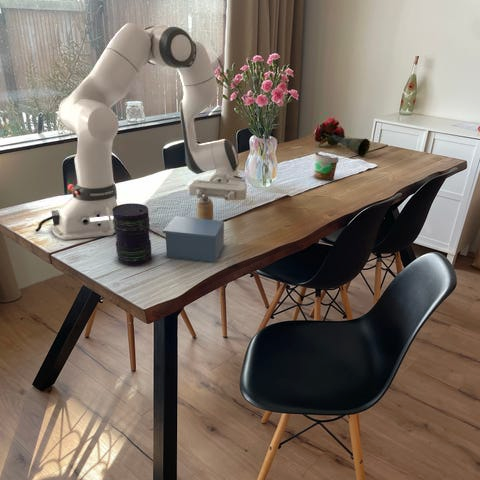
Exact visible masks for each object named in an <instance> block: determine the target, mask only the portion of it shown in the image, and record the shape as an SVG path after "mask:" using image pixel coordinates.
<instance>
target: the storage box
mask: <svg viewBox="0 0 480 480" xmlns="http://www.w3.org/2000/svg"><path fill="white" fill-rule="evenodd" d="M224 235H225V223H224V224H223V226H222V228H221V229H220V231H219V233H218V235H217V237H216V238H205V237H195V236H185V235H175V234H165V247H166V258H172V259H182V260H190V261H191V260H192V261H200V262H210V263H216V262H217V260H218V258H219V256H220V254H221V252H222V250H223V248H224V246H225V245H224V243H225V236H224Z"/></svg>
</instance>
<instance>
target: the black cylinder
mask: <svg viewBox="0 0 480 480" xmlns="http://www.w3.org/2000/svg"><path fill="white" fill-rule="evenodd" d="M112 211H113V223H114V230H115V239H116V241H115V246H116V247H115V249H116V251H115V252H116V255H117V262H118V263H119V264H121V265H122V266H126V267H139V266H144V265H147V264H149V263H150V262H151V261H152V259H153V257H152V241H151V239H150V225H151V224H150V216H149V215H150V214H149V208H148V206H147V205H144V204H141V203H133V202H132V203H131V202H130V203H122V204H117V206H116V207H114V208H113V209H112Z"/></svg>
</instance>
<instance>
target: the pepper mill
mask: <svg viewBox="0 0 480 480" xmlns="http://www.w3.org/2000/svg"><path fill="white" fill-rule="evenodd" d="M196 216H197V217H196V218H199V219H209V220H214V202H213V200H212V199H211V198H210V197H208V195H206V194H204V195H202V198H198V201H197V202H196Z"/></svg>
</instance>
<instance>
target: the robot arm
mask: <svg viewBox="0 0 480 480" xmlns="http://www.w3.org/2000/svg"><path fill="white" fill-rule="evenodd" d="M147 63H148V64H150V65H153V66H158V67H161V68H169V69H171V68H173V69H176V70H177V72H178V74H179V76H180V81H181V84H182V87H183V97H182V99H181V101H180V102H179V117H180V118H179V119H180V126H181V132H182V138H183V144H184V154H185V155H184V156H185V163H186V167H187V169H188V170H189V171H190V172H192V173H193V174H196V175H200V174H203V173H207V172H211V171H215V172H214V173H213V174H212V176H211V177H210V179H208V180H203V179H195V180H192V181H191V182H189V184H188V185H187V194H188V195H189V196H194V197H196V198H197V199H201V198H202V195H204V194H206V195H208V198H217V199H224V201H226V202H227V201H230V200H240V201H243V200H246V198H247V183H246V182H247V181H246V178H245V177H243V176H240V171H239V168H238V167H239V164H240V162H239V155H238V151H237V147H236V146H235V144H234V143H233V142H231V141H230V140H229V139H227V138H224V139H219V140H218V139H217V140H213V141H210V142H205V143H198V142H197V141H198V140H197V134H196V129H195V127H196V126H195V118H196V117H198V115H200V114H201V113H202V112H204V111H205V110H207V109H208V108H209V107H210V106H211V105H212V104H213V103H214V102H215V100H216V98H217V96H218V91H219V88H218V81H217V78H216V77H217V76H216V73H215V70H214V66H213V64H212V61H211V58H210V56H209V53H208V52H207V49H206V48H205V45H204V44H203V43H201V42H200V41H198V40H193V39H192V36H190V34H189V33H188V32H187V31H185V29H183V28H180V27H179V26H168V25H155V26H154V25H153V26H147V27H146V28H143V27H142V26H141V25H139V24H137V23H135V22H134V23H133V22H128V23H125V24H124V25H123V26H122V27H121V28H120V29H119V30H118V31H117V33H115V34H114V36H113V38H111V40H110V42H109V43H108V44H107V46H106V47H105V49H104V51H103V52H102V54H101V55H100V57H99V59H98V60H97V62H96V64H95V65H94V66H93V68H92V70H91V71H90V72H89V74H88V75H87V76H86V77H85V79H84V80H82V82H81V83H79V84H78V86H76V88H75V89H74V90H73V91H72V92H71V93H70V94H69V95H68V96H66V97H65V98H63V99H62V100H61V101H60V103H59V105H58V116H59V119H60V120H61V123H62V124H63V125H64V127H65V128H66V129H67V130H68V131H70V132H72V134H76V137H77V146H76V154H75V156H74V158H73V159H74V160H73V161H74V168H75V174H76V175H75V176H76V181H77V183H76V184H75V185H74V184H73V183H69V184H68V185H67V189H68V190H69V191H70V192H71V193H72V197H71V198H70V199H69V200H68V201H67V202H65V204H64V205H62V206H61V207H60V208H59V210H58V209H55V210H51V211H50V212H51V216H49V217H46V218H44V219H43V220H41V221H40V222H39V223H38V227H37V228H35V229H34V230H35V232H40V231H41V229H42V227H43V225H44V224H46V223H47V222H49V221H51V220H52V223H53V224H52V226H51V231H52V233H53V234H54V236H55V237H57V238H58V239H61V240H64V241H67V240H77V239H85V238H86V239H89V238H97V237H109V236H112V235H114V234H115V233H116V231H115V230H114V223H113V211H112V209H113V208H114V207H116V206H118V202H117V201H118V193H117V192H118V191H117V187H116V186H117V185H116V182H115V181H114V171H113V161H112V159H113V157H112V155H113V145H114V139H115V137H116V136H117V134H118V132H119V127H120V124H119V118H118V117H117V114H116V113H115V112H114V111H113V110H112V107H114V106H115V104H117V103H118V102H119V101H122V100H123V99H125V97H126V96H127V94H128V93H129V91H130V89H131V88H132V87H133V85H134V83H135V82H136V80H137V78H138V76H139V75H140V73H141V72H142V70H143V68H144V66H145V65H146V64H147Z"/></svg>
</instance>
